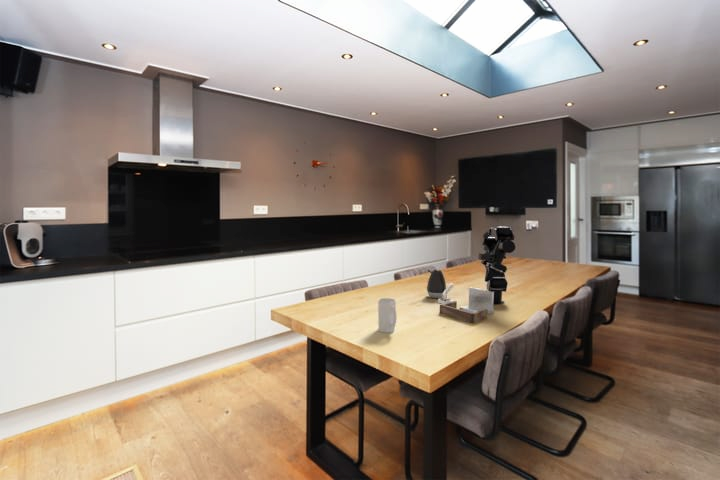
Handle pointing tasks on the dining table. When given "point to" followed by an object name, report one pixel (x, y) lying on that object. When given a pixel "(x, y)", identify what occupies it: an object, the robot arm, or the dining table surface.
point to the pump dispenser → (436, 284)
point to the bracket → (479, 300)
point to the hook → (445, 295)
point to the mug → (386, 315)
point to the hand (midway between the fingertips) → (485, 281)
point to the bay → (462, 313)
